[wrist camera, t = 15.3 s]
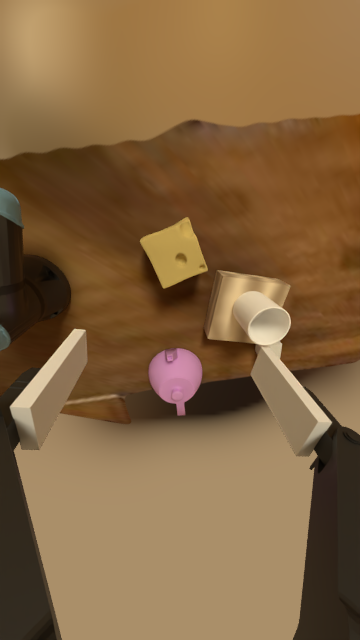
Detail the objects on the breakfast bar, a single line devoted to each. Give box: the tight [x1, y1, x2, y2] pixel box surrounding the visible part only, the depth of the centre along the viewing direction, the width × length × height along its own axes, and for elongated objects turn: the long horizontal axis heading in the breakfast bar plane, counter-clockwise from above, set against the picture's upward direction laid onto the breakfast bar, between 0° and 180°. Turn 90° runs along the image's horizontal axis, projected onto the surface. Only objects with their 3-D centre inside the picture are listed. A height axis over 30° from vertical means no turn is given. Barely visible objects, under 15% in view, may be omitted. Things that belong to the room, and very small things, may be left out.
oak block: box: [204, 270, 290, 344], centre depth 52 cm, size 16×16×6 cm
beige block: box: [255, 341, 282, 359], centre depth 58 cm, size 5×5×5 cm
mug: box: [233, 291, 291, 348], centre depth 44 cm, size 12×8×10 cm
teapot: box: [149, 348, 202, 416], centre depth 57 cm, size 22×16×12 cm
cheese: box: [140, 218, 208, 289], centre depth 43 cm, size 10×11×10 cm
